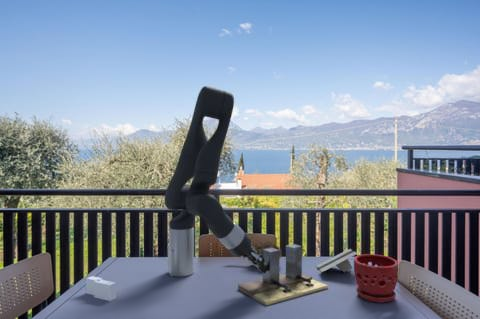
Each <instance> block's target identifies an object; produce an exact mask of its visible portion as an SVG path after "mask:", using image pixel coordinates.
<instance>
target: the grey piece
mask: <svg viewBox="0 0 480 319" xmlns="http://www.w3.org/2000/svg"><path fill="white" fill-rule="evenodd" d="M358 254H359V253H358V252H356V251H353V249H351V248H349V249H346V250H344V251H343V252H340V253H339V254H336V255H335V256H333V257H330V258H329V259H327V260H325V261H322V262H321V263H319V264H316V268H318V270H319V271H320V272H321V273H323V272H325V271H327V270H330V269H331V268H333V267H335V266H336V267H337V268H338V269H339V270H340V271H341V272H343V273H347V272H348V271H351V270H352V269H353V266H352V265H351V262H350V261H349V259H350V258H352V257H354V256H356V255H358Z"/></svg>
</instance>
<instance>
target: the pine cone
mask: <svg viewBox="0 0 480 319" xmlns="http://www.w3.org/2000/svg"><path fill="white" fill-rule="evenodd" d="M251 248H254V249H255V250H256V252H257V254H258V255H262V256H263V249H268V248H274V249H277V250H279V261H280V259H281V258H282V250H281V248H280V247H279V245H276V244H275V243H273V242H272V241H265V240H264V241H262V242H259V244H258V243H256V244H254V245H253V246H251ZM240 257H241V256H240ZM241 258H242V257H241Z"/></svg>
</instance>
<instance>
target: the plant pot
mask: <svg viewBox="0 0 480 319" xmlns="http://www.w3.org/2000/svg"><path fill="white" fill-rule="evenodd" d="M369 263H371V264H369ZM381 264H382V265H381ZM353 271H354V280H355V283H356V284H357V287H356V289H355V291H356V293H357V294H358V296H359V297H361V298H362V299H364V300H366V301H369V302H374V303H387V302H388V303H389V302H391V301H393V300H394V299H395V298H396V291H395V289H396V286H397V284H398V280H399V276H398V275H399V274H398V273H399V261H398V260H396V259H394V258H393V257H389V256H386V255H382V254H371V253H369V254H368V253H366V254H365V253H364V254H360V255H357V256H356V255H355V257H354V258H353Z"/></svg>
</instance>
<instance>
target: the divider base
mask: <svg viewBox="0 0 480 319" xmlns="http://www.w3.org/2000/svg"><path fill="white" fill-rule="evenodd" d="M312 279H313V277H312V276H309V275H307V274H305V273H303V246H301V245H299V244H296V243H293V244H288V245H287V244H286V245H285V273H284V274H279V282H280V283H282V284H284V285H286V286H288V285H292V284H296V283H300V282H304V281H306V282H308V283H311V280H312ZM280 287H281V286H279V285H277V284H271V285H269V284H267V283H265V282H263V278H261V279H257V280H253V281H248V282H247V281H246V282H243V283H240V284H237V290H238V291H240V292H242V293H244V294H245V295H247V296H249V297H251V298H253V294H257V293H261V292H265V291H269V290H273V289H276V288H280Z"/></svg>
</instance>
